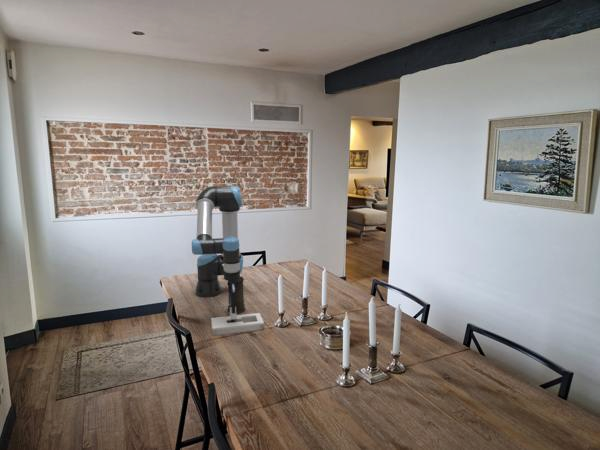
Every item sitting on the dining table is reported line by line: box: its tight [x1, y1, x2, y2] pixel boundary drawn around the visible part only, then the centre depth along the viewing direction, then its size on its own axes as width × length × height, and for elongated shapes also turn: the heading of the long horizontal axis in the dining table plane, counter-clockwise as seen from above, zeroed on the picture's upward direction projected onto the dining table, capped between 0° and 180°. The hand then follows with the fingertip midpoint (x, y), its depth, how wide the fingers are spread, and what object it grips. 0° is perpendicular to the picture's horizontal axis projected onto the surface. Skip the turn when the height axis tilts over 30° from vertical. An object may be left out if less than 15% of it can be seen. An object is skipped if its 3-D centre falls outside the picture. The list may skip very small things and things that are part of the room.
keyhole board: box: [210, 312, 265, 336], centre depth 190 cm, size 12×24×3 cm, turn 106°
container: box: [227, 275, 246, 315], centre depth 208 cm, size 9×9×18 cm
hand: (233, 317), depth 189 cm, fingers closed on peg, 2 cm apart
